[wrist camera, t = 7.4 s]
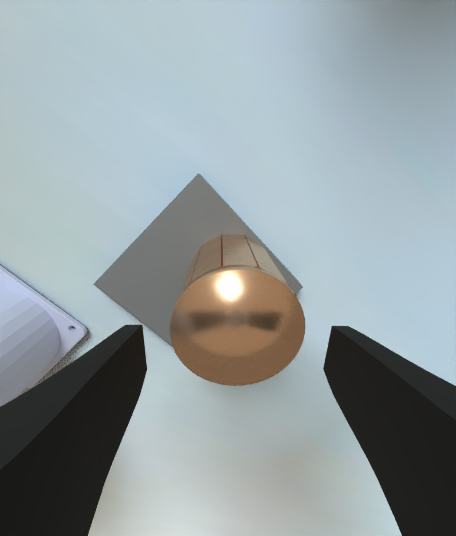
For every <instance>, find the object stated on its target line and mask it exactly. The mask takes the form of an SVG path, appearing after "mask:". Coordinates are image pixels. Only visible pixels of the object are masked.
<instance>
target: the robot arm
mask: <svg viewBox="0 0 456 536" xmlns="http://www.w3.org/2000/svg"><path fill="white" fill-rule="evenodd" d="M72 326H74V327H75V329H74V328H73V327H72ZM86 333H87V329H86V328H85V327H84V326H83V325H82V324H80V323H79V322H78V321H76V320H75V319H74V318H72V317H71V316H69V315H68V314H67V313H65V312H64V311H62V310H61V309H60V308H58V307H57V306H56V305H54V304H53V303H51V302H50V301H49V300H47V299H46V298H45V297H43V296H42V295H40V294H39V293H38V292H36V291H35V290H34V289H32V288H31V287H29V286H28V285H27V284H25V283H24V282H22V281H21V280H20V279H18V278H17V277H16V276H14V275H13V274H11V273H10V272H9V271H7V270H6V269H5V268H3V267H2V266H0V536H88V533H89V530H90V527H91V524H92V520H93V517H94V514H95V511H96V508H97V505H98V502H99V499H100V496H101V492H102V489H103V486H104V483H105V481H106V478H107V475H108V473H109V470H110V467H111V465H112V462H113V460H114V457H115V455H116V453H117V450H118V448H119V445H120V443H121V440H122V438H123V436H124V433H125V431H126V428H127V426H128V423H129V421H130V419H131V416H132V414H133V411H134V409H135V406H136V404H137V401H138V399H139V396H140V393H141V389H142V386H143V382H144V379H145V375H146V371H147V364H146V355H145V346H144V337H143V327H142V325H125V326H123V327H122V328H120V329H119V330H117V331H116V332H114V333H113V334H112V335H110V336H109V337H107V338H106V339H105V340H103V341H102V342H101V343H99V344H98V345H96V346H95V347H94V348H92V349H91V350H89V351H88V352H87V353H85V354H84V355H82V356H81V357H79V358H78V359H77V360H75V361H74V362H72V363H71V364H69V365H68V366H66V367H65V368H63V369H61V370H60V371H58V372H57V373H55V374H54V375H52V376H51V377H49V378H48V379H46V380H45V381H43V382H42V383H40V384H38V385H37V386H35V387H34V388H32V387H33V386H34V385H35V384H36V383H37V382H38V381H39V380H40V379H41V378H42V377H43V376H44V375H45V374H46V373H47V372H48V371H50V370H51V369H52V368H53V367H54V366H55V365H56V364H57V363H58V362H59V361H60V360H61V359H62V358H63V357H64V356H65V355H66V354H67V353H68V352H69V351H70V350H71V349H72V348H73V347H74V346H75V345H76V344H77V343H78V342H79V341H80V340H81V339H82V338H83V337H84V336H85V335H86ZM323 369H324V372H325V375H326V377H327V380H328V383H329V385H330V388H331V390H332V393H333V395H334V397H335V399H336V401H337V403H338V405H339V407H340V408H341V410H342V412H343V414H344V416H345V418H346V420H347V422H348V424H349V425H350V427H351V429H352V431H353V433H354V435H355V436H356V438H357V440H358V442H359V444H360V446H361V448H362V449H363V451H364V453H365V455H366V457H367V459H368V461H369V463H370V465H371V467H372V469H373V471H374V473H375V475H376V477H377V479H378V481H379V483H380V485H381V488H382V490H383V492H384V495H385V497H386V499H387V501H388V504H389V506H390V508H391V510H392V513H393V515H394V517H395V520H396V522H397V524H398V527H399V529H400V532H401V534H402V536H456V386H454V385H452V384H451V383H449V382H447V381H445V380H443V379H441V378H439V377H437V376H436V375H434V374H432V373H430V372H428V371H426V370H424V369H423V368H421V367H419V366H417V365H415V364H414V363H412V362H410V361H408V360H407V359H405V358H403V357H401V356H400V355H398V354H396V353H395V352H393V351H391V350H389V349H388V348H386V347H384V346H383V345H381V344H379V343H378V342H376V341H374V340H372V339H371V338H369V337H367V336H366V335H364V334H362V333H360V332H358V331H357V330H355V329H353V328H351V327H349V326H332V329H331V334H330V338H329V343H328V348H327V353H326V358H325V363H324V368H323ZM30 388H32V389H30ZM25 389H30V390H28V391H27V392H25V393H23V394H22V395H20V394H21V393H22V392H23V391H24V390H25ZM19 395H20V396H19Z"/></svg>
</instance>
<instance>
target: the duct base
mask: <svg viewBox="0 0 456 536" xmlns="http://www.w3.org/2000/svg"><path fill="white" fill-rule="evenodd" d="M222 234H233V235H244V236H245V235H246V236H247V237H249V238H250V239H252V240H254V241H255V242H257V243H258V244H260V245H262V246H263V247H264V249H265V250H266V252H267V253H268V255H269V256H270V258H271V259H272V261H273V262H274V264H275V265H276V267H277V268H278V270H279V271H280V273H281V274H282V276H283V277H284V279H285V280H286V282H287V283H288V285H289V287H290V289H291V290H292V291H293V293H294V294H295V293H296V292H298V291H299V290H300V289H301V288H303V287H302V285H301V284H300V283H299V282H298V280H297V279H296V278H295V277H294V276H293V275H292V274H291V273H290V272H289V271H288V269H287V268H286V267H285V266H284V265H283V264H282V263H281V262H280V261H279V260H278V259H277V258H276V256H275V255H274V254H273V253H272V252H271V251H270V250H269V249H268V248H267V247H266V246H265V244H264V243H263V242H262V241H261V240H260V239H259V238H258V237H257V236H256V235H255V234H254V233H253V231H252V230H251V229H250V228H249V227H248V226H247V225H246V224H245V223H244V222H243V221H242V220H241V218H240V217H239V216H238V215H237V214H236V213H235V212H234V211H233V210H232V209H231V208H230V206H229V205H228V204H227V203H226V202H225V201H224V200H223V199H222V198H221V197H220V196H219V195H218V193H217V192H216V191H215V190H214V189H213V188H212V187H211V186H210V185H209V184H208V183H207V181H206V180H205V179H204V178H203V177H202V176H201V175H200V174H197V175H196V177H195V178H194V179H193V180H192V181H191V182H190V183H189V184H188V185H187V186H186V187H185V188H184V189H183V190H182V191H181V192H180V193H179V194H178V196H177V197H176V198H175V199H174V200H173V201H172V202H171V203H170V204H169V205H168V206H167V207H166V208H165V209H164V210H163V211H162V212H161V213H160V215H159V216H158V217H157V218H156V219H155V220H154V221H153V222H152V223H151V224H150V225H149V226H148V227H147V228H146V229H145V230H144V231H143V232H142V234H141V235H140V236H139V237H138V238H137V239H136V240H135V241H134V242H133V243H132V244H131V245H130V246H129V247H128V248H127V249H126V250H125V251H124V253H123V254H122V255H121V256H120V257H119V258H118V259H117V260H116V261H115V262H114V263H113V264H112V265H111V266H110V267H109V268H108V269H107V270H106V272H105V273H104V274H103V275H102V276H101V277H100V278H99V279H98V280H97V281H96V282H95V283H94V284H93V285H95V286H96V287H97V288H98V289H100V290H101V291H102V292H104V293H105V294H106V295H107V296H109V297H110V298H111V299H112V300H114V301H115V302H116V303H118V304H119V305H120V306H121V307H123V308H124V309H125V310H126V311H128V312H129V313H130V314H131V315H133V316H134V317H135V318H137V319H138V320H139V321H140V322H142V323H143V324H144V325H145V326H147V327H148V328H149V329H150V330H152V331H153V332H154V333H156V334H157V335H158V336H159V337H161V338H162V339H163V340H164V341H166V342H167V343H168V344H169V345H171V346H172V347H173V345H172V342H171V337H170V322H171V317H172V314H173V309H174V306H175V303H176V301H177V298H178V295H179V293H180V290H181V287H182V285H183V282H184V279H185V277H186V274H187V271H188V269H189V266H190V264H191V262H192V260H193V258H194V257H195V255H196V253H197V252H198V250H199V248H200V247H201V245H202V244H204V243H206V242H208V241H210V240H212V239H213V238H215V237H217V236H219V235H222Z"/></svg>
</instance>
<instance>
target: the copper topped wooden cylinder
mask: <svg viewBox="0 0 456 536" xmlns="http://www.w3.org/2000/svg"><path fill="white" fill-rule="evenodd" d="M304 334H305V318H304V313H303V310H302V307H301V305H300V303H299V301H298V299H297V298H296V296H295V295H294V293H293V291H292V290H291V289H290V287H289V285H288V283H287V282H286V280H285V279H284V277H283V276H282V274H281V273H280V271H279V270H278V268H277V267H276V265H275V264H274V262H273V261H272V259H271V258H270V256H269V255H268V253H267V252H266V250H265V249H264V247H263V246H262V245H260V244H258V243H257V242H255V241H254V240H252V239H250V238H249V237H247V236H246V235H245V236H244V235H233V234H222V235H219V236H217V237H215V238H213V239H212V240H210V241H208V242H206V243H204V244H202V245H201V247H200V248H199V250H198V252H197V253H196V255H195V257H194V258H193V260H192V262H191V264H190V266H189V269H188V271H187V274H186V277H185V279H184V282H183V285H182V287H181V290H180V293H179V295H178V298H177V301H176V303H175V306H174V309H173V314H172V317H171V322H170V337H171V342H172V345H173V348H174V350H175V353H176V354H177V356H178V358H179V359H180V360H181V362H182V363H183V364H184V365H185V366H186V367H187V368H188V369H189V370H190V371H192V372H193V373H195V374H196V375H198V376H199V377H201V378H203V379H206V380H208V381H211V382H214V383H218V384H223V385H234V386H236V385H248V384H253V383H257V382H260V381H263V380H266V379H268V378H270V377H272V376H274V375H275V374H277V373H279V372H280V371H281V370H283V369H284V368H285V367H286V366H287V365H288V364H289V363H290V362H291V361H292V360H293V359H294V357H295V356H296V354H297V353H298V351H299V349H300V347H301V345H302V342H303V338H304Z"/></svg>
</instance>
